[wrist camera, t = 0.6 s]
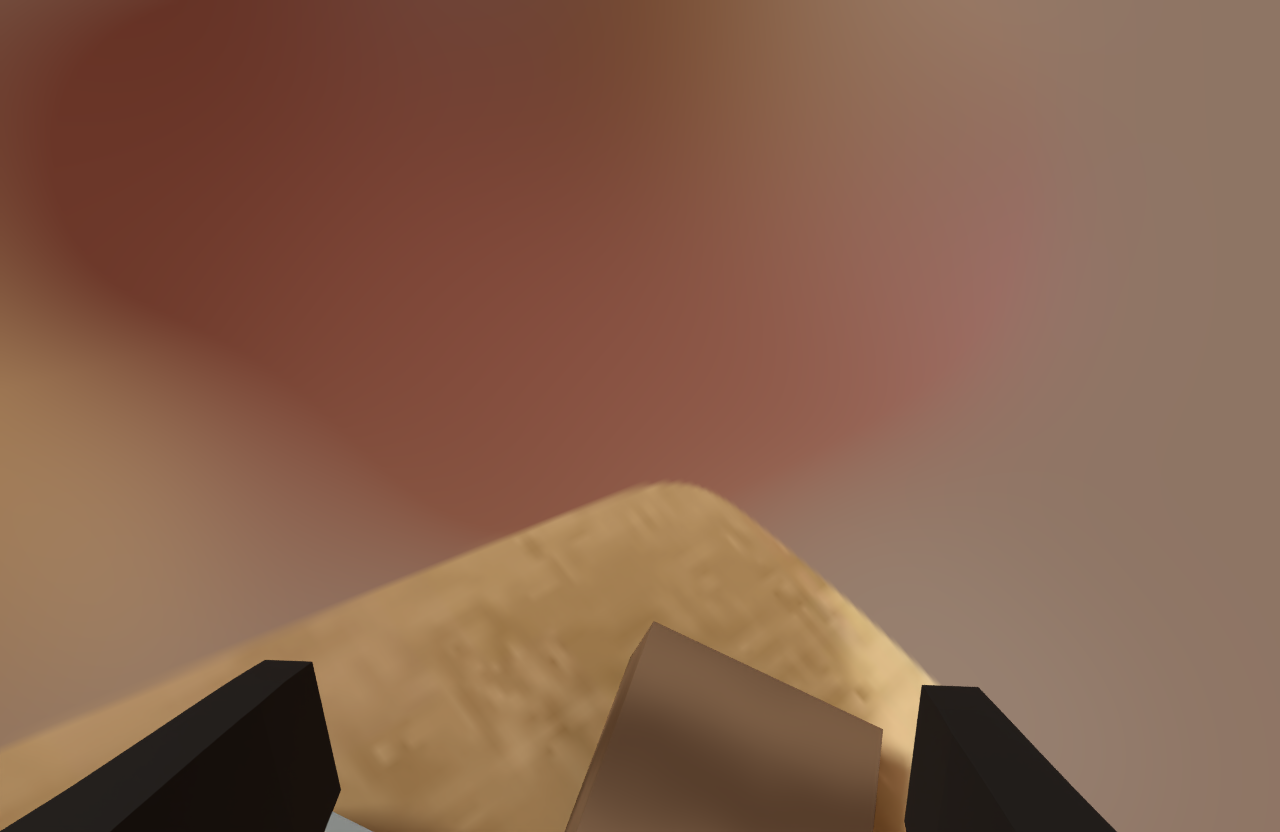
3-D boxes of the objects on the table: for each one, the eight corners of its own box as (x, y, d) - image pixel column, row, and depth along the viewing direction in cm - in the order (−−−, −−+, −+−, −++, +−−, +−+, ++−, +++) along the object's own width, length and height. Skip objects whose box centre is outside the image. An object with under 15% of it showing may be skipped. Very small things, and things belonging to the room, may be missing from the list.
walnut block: (798, 1043, 23) (852, 1038, 20) (531, 914, 23) (553, 893, 21) (837, 759, 29) (882, 729, 27) (628, 660, 29) (653, 621, 27)
